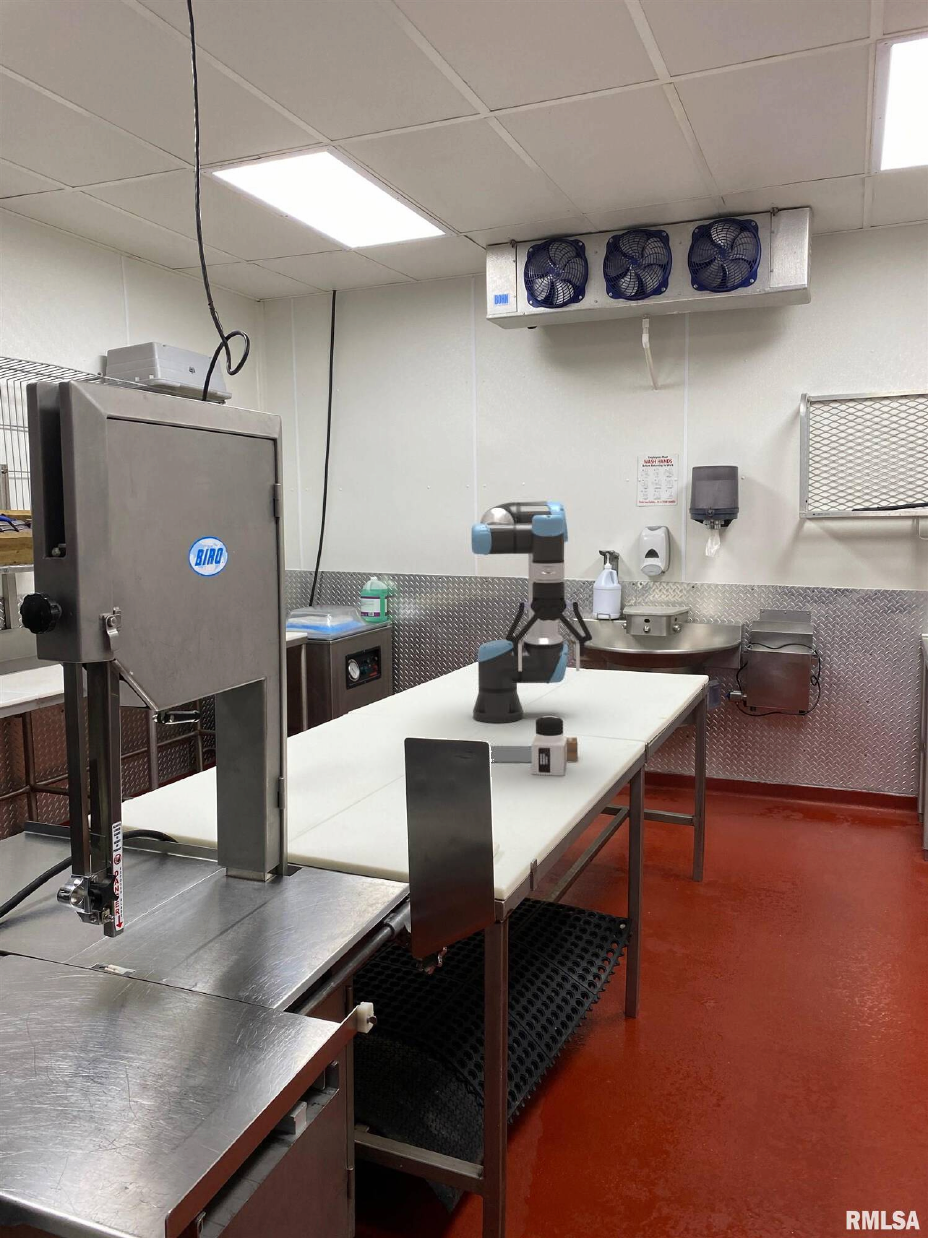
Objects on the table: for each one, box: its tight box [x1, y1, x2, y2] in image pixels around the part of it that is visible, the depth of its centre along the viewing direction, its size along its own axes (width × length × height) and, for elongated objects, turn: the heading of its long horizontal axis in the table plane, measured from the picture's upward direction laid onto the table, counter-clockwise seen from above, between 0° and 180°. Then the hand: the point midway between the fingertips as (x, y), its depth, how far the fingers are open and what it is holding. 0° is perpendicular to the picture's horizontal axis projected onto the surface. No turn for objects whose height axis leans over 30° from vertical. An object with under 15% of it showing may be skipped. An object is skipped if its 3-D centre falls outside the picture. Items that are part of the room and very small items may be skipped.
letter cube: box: [566, 736, 579, 761], centre depth 218 cm, size 5×5×5 cm
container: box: [531, 715, 568, 777], centre depth 208 cm, size 8×8×13 cm
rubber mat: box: [490, 745, 532, 764], centre depth 222 cm, size 14×14×1 cm
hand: (548, 670), depth 206 cm, fingers open, 13 cm apart
